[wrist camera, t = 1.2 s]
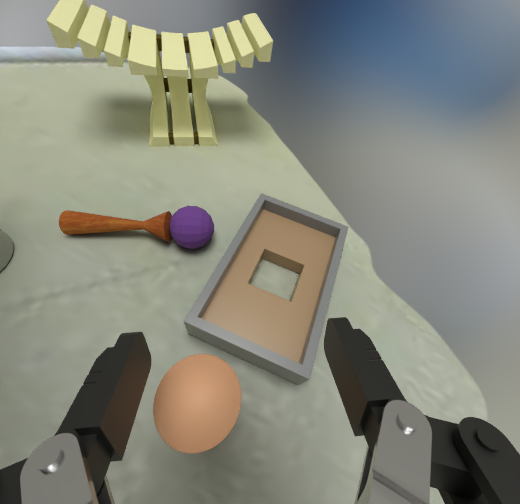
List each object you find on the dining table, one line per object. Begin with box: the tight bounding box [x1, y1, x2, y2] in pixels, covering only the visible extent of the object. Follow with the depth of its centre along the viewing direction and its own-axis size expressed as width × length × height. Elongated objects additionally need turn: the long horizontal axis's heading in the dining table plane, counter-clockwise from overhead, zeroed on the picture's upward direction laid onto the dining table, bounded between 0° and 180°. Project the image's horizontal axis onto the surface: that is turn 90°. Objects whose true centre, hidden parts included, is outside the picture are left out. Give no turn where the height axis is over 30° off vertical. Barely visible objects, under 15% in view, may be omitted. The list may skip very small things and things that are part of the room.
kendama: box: [59, 206, 214, 249], centre depth 35 cm, size 6×6×20 cm
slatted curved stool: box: [47, 0, 273, 146], centre depth 47 cm, size 30×16×18 cm, turn 102°
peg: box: [153, 354, 241, 453], centre depth 20 cm, size 4×4×16 cm
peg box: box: [184, 193, 348, 385], centre depth 34 cm, size 14×22×4 cm, turn 158°
